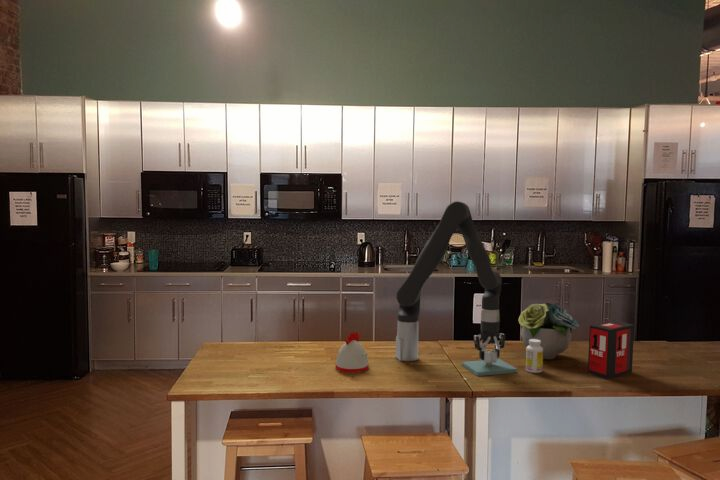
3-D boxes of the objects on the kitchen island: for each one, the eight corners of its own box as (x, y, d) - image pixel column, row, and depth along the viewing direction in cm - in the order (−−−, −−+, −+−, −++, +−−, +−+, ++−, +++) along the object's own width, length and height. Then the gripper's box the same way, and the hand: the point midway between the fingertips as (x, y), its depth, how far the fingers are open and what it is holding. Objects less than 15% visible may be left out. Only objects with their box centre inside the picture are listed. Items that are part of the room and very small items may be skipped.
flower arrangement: (548, 347, 258) (549, 296, 256) (586, 362, 235) (589, 307, 233) (504, 352, 249) (506, 300, 247) (540, 368, 226) (542, 311, 224)
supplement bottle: (542, 369, 224) (543, 339, 223) (542, 374, 218) (543, 343, 217) (525, 367, 226) (526, 337, 225) (525, 372, 220) (526, 341, 219)
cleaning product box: (611, 366, 228) (613, 320, 227) (631, 372, 221) (634, 324, 219) (587, 373, 220) (589, 325, 218) (607, 379, 212) (609, 329, 211)
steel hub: (486, 363, 220) (486, 353, 220) (479, 359, 226) (479, 349, 226) (499, 362, 222) (499, 352, 222) (492, 358, 228) (492, 348, 228)
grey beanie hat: (375, 367, 226) (375, 332, 224) (352, 375, 215) (352, 338, 214) (351, 360, 235) (351, 326, 234) (328, 367, 225) (328, 332, 224)
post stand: (477, 375, 215) (477, 357, 215) (461, 365, 229) (462, 348, 228) (516, 372, 220) (517, 354, 219) (499, 362, 234) (499, 345, 233)
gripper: (500, 316, 228) (499, 355, 230) (470, 318, 225) (469, 357, 226) (510, 320, 221) (509, 360, 222) (478, 322, 217) (478, 363, 219)
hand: (489, 358), depth 224 cm, fingers closed on steel hub, 6 cm apart
